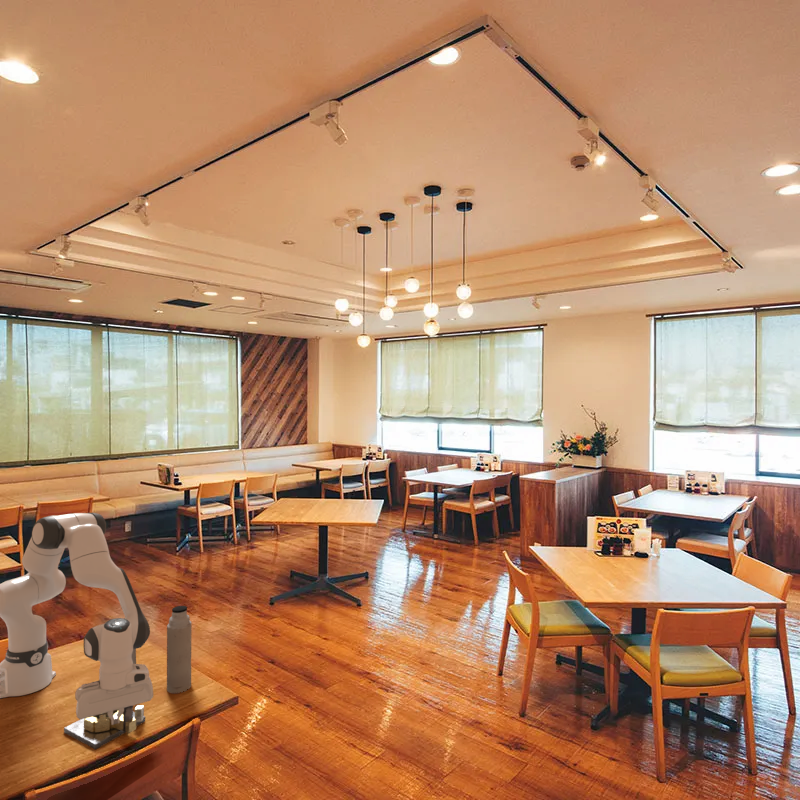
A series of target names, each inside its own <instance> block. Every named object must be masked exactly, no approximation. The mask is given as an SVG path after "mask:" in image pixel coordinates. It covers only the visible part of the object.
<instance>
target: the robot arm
mask: <svg viewBox="0 0 800 800" xmlns="http://www.w3.org/2000/svg"><path fill="white" fill-rule="evenodd" d="M106 530H107V522H106V519H105V518H104V516H103V515H102V514H100V513H97V512H87V513H86V512H73V513H72V512H70V513H67V514H66V513H65V514H59V515H58V514H57V515H48V516H44V517H42V518H39V519H37V520H36V521H35V523H34V524H33V527H32V530H31V537H30V539H29V542H28V545H27V547H26V548H25V552H24V553H23V556H22V558H21V563H22V566H23V568H24V569H25V570H26V572H27V573H26V574H24V575H22V576H19V577H16V578H12V579H8V580H5V581H4V582H2V583H0V619H2V621H3V622H4V623H5V625H6V628H7V639H8V644H7V645H8V647H6V648H5V657H4V659H3V660H2V661H1V662H0V699H3V698H8V697H20V696H26V695H29V694H32V693H35V692H38V691H40V690H42V689H44V688H46V687H47V686H49V685H50V684H51V683H52V681H53V678H54V677H56V675H57V673H56V671H54V670H53V664H52V663H53V662H52V655H51V654H50V653H49V652H48V651H49V649H48V648H49V644H48V640H47V622H46V620H45V618H44V617H43V616H40V615H38V614H34V613H33V610H32V609H33V606H36V605H38V604H42V603H44V602H47V601H50V600H51V599H53V598H55V597H56V596H58V595H60V594H62V593H63V591H64V590H65V588H66V583H67V580H66V576H65V574H64V573H63V571H62V570H60V569H59V564H60V561H61V559H62V556H63V554H64V551H65V549H67V550H68V553H69V562H70V569H71V572H72V576H73V578H74V579H75V581H77V582H78V584H80V585H83V586H85V587H89V588H97V589H98V588H99V589H104V590H109V591H111V592H113V594H115V595H116V597H117V599H118V602H119V605H120V607H121V609H122V612H123V615H124V618H123V617H122V618H121V617H120V618H119V617H118V618H112V619H111V618H110V619H109V620H107V621H106V622H104V623H102V624H98V625H96V626H95V625H94V626H93V627H91V628H89V629H88V631H87V632H86V634H85V635H84V637H83V654H84V655H85V656H86V657H87V658H89V659H91V660H93V661H95V662H98V661H99V662H100V665H99V669H98V670H99V672H98V673H99V675H98V677H99V680H95V681H92V682H90V683H89V682H88V683H83V684H81V686H79V687H77V689H76V690H75V696H74V697H75V700H76V708H75V710H76V711H75V713H76V718H78V719H79V720H81V719H84V718H88V717H91V716H95V715H99V714H103V713H106V712H107V714H108V716H109V718H110V719H111V725H114V724H117V723H120V717H121V715H122V714H123V712H124V708H125V707H129V706H132V705H133V706H135V705H136V706H137V705H139V704H143V703H146V702H150V701H151V700H152V699H153V698H154V688H153V683H152V680H151V677H150V671H149V669H148V667H147V665H146V664H145V663H144V664H142V663H136V664H133V661H132V652H133V649H136V650H137V649H141V648H142V647H143V646H144V645H145V643H146V642H147V641H148V639H149V637H150V635H151V629H150V628H151V627H150V624H149V622H148V620H147V617H146V616H145V614H144V613H143V611H142V608H141V606H140V604H139V601H138V598H137V596H136V594H135V591H134V589H133V586H132V584H131V581H130V580H129V577H128V575H127V573H126V572H125V570H124V569H123V568H121V567H119V566H117V565H116V564H115V562H114V561H113V559H112V558H111V556H110V550H109V546H108V543H107V540H106V536H105V534H106ZM117 709H118V710H119V712H118V713H117V715H116V716H113V715H112V714H113V711H114V710H117Z"/></svg>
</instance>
